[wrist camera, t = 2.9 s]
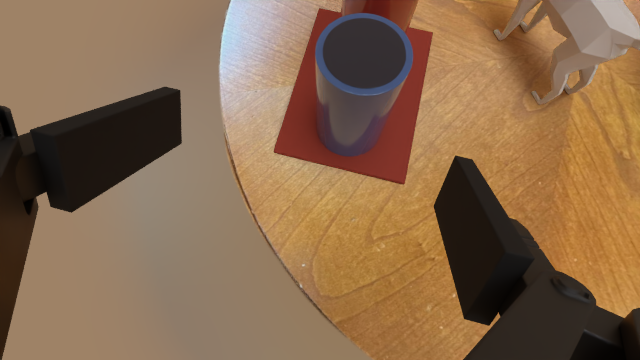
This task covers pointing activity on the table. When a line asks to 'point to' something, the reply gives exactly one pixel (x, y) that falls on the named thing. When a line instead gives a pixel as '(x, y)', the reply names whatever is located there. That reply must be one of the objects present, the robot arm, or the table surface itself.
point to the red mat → (396, 136)
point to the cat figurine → (579, 37)
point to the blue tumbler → (358, 80)
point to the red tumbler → (383, 10)
